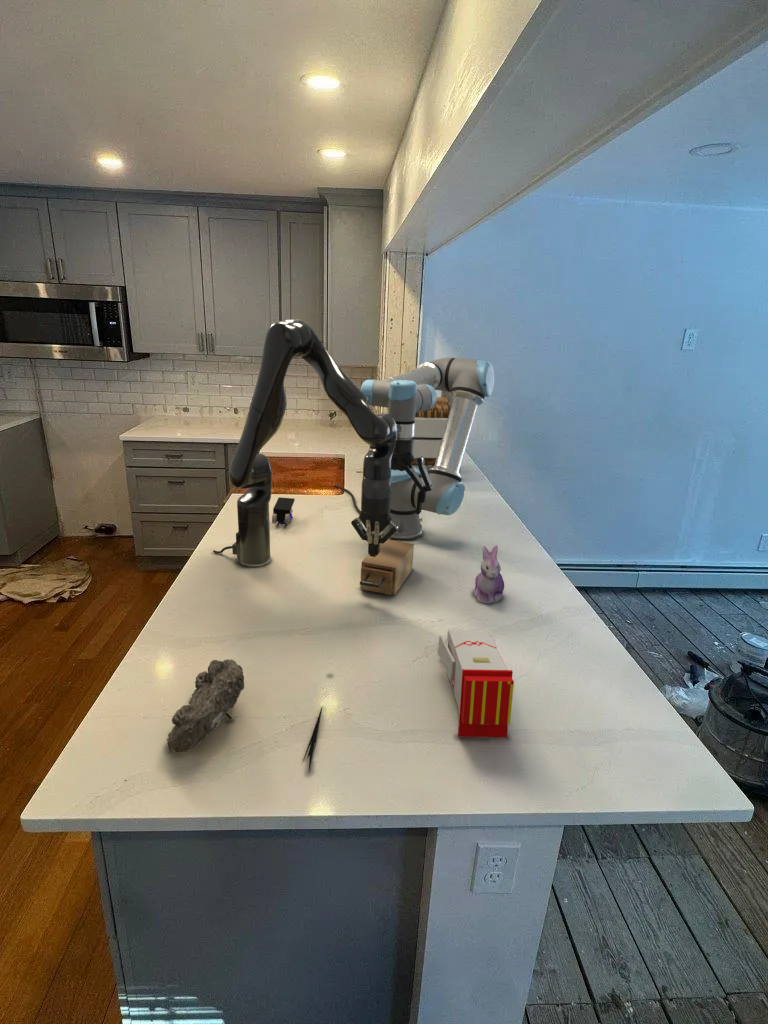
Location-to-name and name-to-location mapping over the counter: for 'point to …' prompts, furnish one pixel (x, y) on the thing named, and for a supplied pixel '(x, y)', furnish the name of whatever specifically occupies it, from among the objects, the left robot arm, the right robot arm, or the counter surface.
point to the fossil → (206, 705)
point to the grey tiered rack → (431, 429)
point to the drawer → (376, 579)
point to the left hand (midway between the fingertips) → (373, 555)
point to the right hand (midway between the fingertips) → (396, 509)
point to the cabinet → (393, 561)
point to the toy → (478, 682)
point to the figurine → (489, 578)
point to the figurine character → (283, 511)
